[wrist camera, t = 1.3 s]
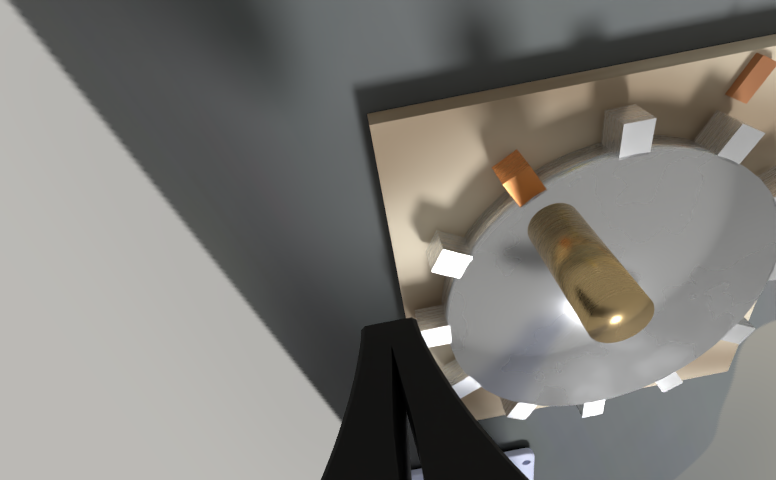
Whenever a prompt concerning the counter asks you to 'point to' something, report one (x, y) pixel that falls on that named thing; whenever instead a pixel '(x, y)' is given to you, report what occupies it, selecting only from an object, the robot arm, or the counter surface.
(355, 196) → the counter surface
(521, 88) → the sprocket base
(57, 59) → the counter surface
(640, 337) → the sprocket
